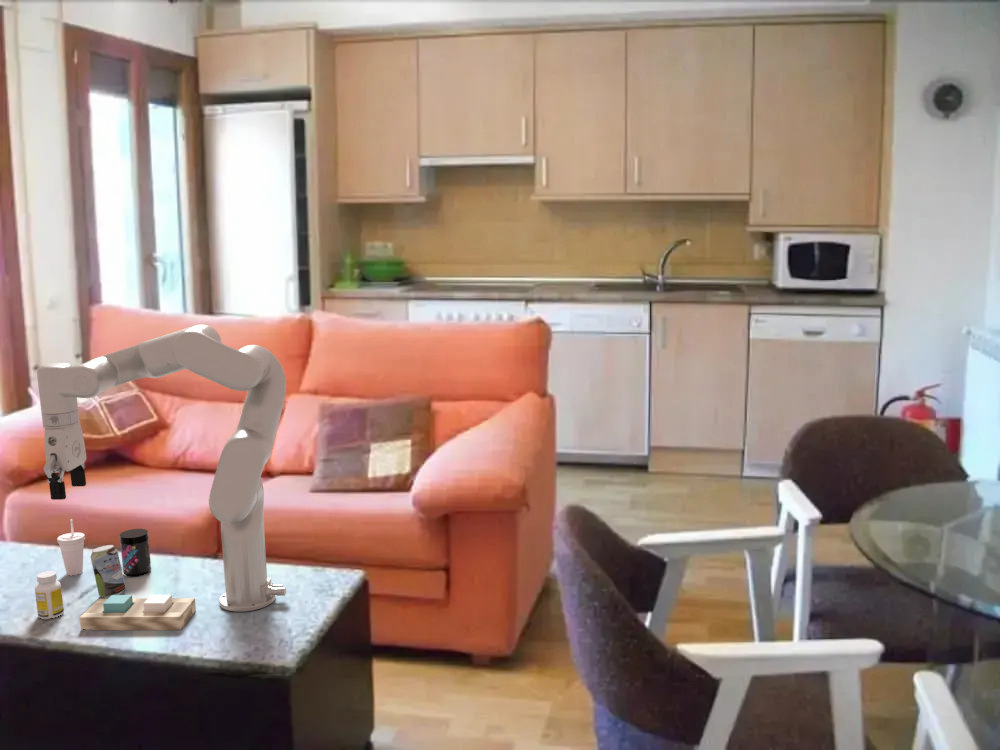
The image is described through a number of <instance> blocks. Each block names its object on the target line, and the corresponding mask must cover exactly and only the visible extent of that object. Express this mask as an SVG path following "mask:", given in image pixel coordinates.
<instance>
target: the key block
mask: <svg viewBox="0 0 1000 750" xmlns="http://www.w3.org/2000/svg"><path fill="white" fill-rule="evenodd" d="M148 598H149V597H146V598H145V597H144V598H143V597H141V598H135V597H134V598H133V597H132V600H133V605H132V607H131V608H130V609H129V610H128V611H127V612H126V613H104V607H103V603H104V602H105V601H106V600H107V599H108V598H98V599H97V600H96V601H95V602H94V603H93V604H92V605H91V606H90V607H89V608H88V609H87V610H86V611H85V612H84V613H83V614H81V615H80V617H79V623H80V630H81V631H84V630H83V629H92V630H91V631H150V630H151V631H171V630H172V631H174V630H175V631H177V630H178V631H181V630H182V628H184V627H185V625H186V624H187V622H188V621H189V620H190V619H191V617H192V616H193V615H194V614H195V612H196V611H197V608H196V598H195V597H183V598H182V597H179V598H177V597H176V598H173V597H172V606H171V607H170V608H169V610H168V611H167V612H163V613H144V602H145V601H146V600H147V599H148Z"/></svg>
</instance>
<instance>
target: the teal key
mask: <svg viewBox="0 0 1000 750" xmlns="http://www.w3.org/2000/svg"><path fill="white" fill-rule="evenodd" d="M132 598H133V595H132V594H119V595H111V596H110V597H109V598H106V599H107V600H106V601H105V602H104V603H103V607H104V613H126V612H127V611H128V610H129V609H130V608H131V607H132V605H133V600H132Z"/></svg>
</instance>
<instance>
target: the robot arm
mask: <svg viewBox="0 0 1000 750" xmlns="http://www.w3.org/2000/svg"><path fill="white" fill-rule="evenodd" d="M184 370H188V371H190V372H191V373H194V374H195V375H198V376H200V377H203V378H205V379H207V380H209V381H211V382H213V383H217V384H218V385H221V386H223V387H225V388H228V389H231V390H233V391H236V392H238V391H239V392H247V394H246V397H245V400H244V402H243V405H242V410H241V413H240V414H241V415H240V418H239V421H238V424H237V427H236V429H235V432H234V433H233V434H232V436H231V437H230V438H229V439H228V440H227V441H226V443H225V444H224V446H223V447H222V451H221V452H220V456H219V459H218V462H217V465H216V466H217V467H216V470H215V473H214V477H213V481H212V484H211V489H210V492H209V496H208V505H209V506H208V507H209V510H210V512H211V514H212V515H213V517H214V518H215V519H216V520H218V521H219V522H220V531H221V534H220V535H221V545H222V549H221V550H222V558H223V560H222V561H223V572H224V573H223V575H224V587H225V589H224V590H225V593H223V594H222V595H221V596H220V597H219V599H218V600H219V601H218V602H219V606H220V607H221V608H222V609H223V610H226V611H229V612H237V613H239V612H251V611H256V610H259V609H263V608H266V607H268V606H269V605H271V604H272V603H273V602H274V601H275V599H276V596H282V597H283V596H284V597H285V596H286V594H287V588H286V586H285V587H284V583H283V584H282V583H279V584H278V583H277V584H274V583H272V578H271V577H268V570H267V555H266V553H267V552H266V540H265V519H264V518H265V517H264V510H265V508H264V507H265V505H264V503H265V490H264V489H265V488H264V484H263V482H262V481H263V480H262V479H261V477H262V474H263V470H264V468H265V465H266V464H267V463H268V461H269V460H270V458H271V457H272V452H273V449H274V448H273V447H274V444H275V439H276V435H277V432H278V428H279V423H280V420H281V415H282V412H283V408H284V404H285V399H286V393H287V392H286V391H287V381H286V374H285V371H284V368H283V365H282V363H281V362H280V360H279V359H278V358H277V356H276V355H274V353H272V351H270V350H269V349H267V348H266V347H264V346H261V345H257V344H250V345H245V346H243V347H241V348H239V349H236V348H233V347H231V346H229V345H227V344H224V343H222V338H221V336H220V334H219V332H218V331H217V329H215V328H214V327H213V326H210V325H206V324H195V325H193V326H190V327H186V328H183V329H180V330H176V331H173V332H170V333H168V334H164V335H162V336H158V337H155V338H152V339H148V340H145V341H142V342H140V343H138V344H136V345H133V346H129V347H127V348H124V349H123V348H122V349H120V350H117V351H114V352H111V353H108V354H104V355H102V356H98V357H96V358H92V359H90V360H88V361H85V362H83V363H80V364H78V365H74V366H73V365H71V364H70V363H67V362H53V363H45V364H43V365H41V366H39V367H38V368H37V371H36V377H37V385H38V393H39V394H38V395H39V402H40V412H41V419H42V420H41V421H42V427H43V428H44V453H45V454H44V455H45V462H46V463H45V464H44V466H43V471H44V473H45V477H46V479H47V483H48V485H49V493H50V499H51V500H53V501H55V500H66V499H67V492H66V484H65V481H63V479H64V475H65V472H70V473H69V475H70V482H71V486H72V487H86V486H87V481H86V480H87V478H86V470H85V468H86V464H85V462H86V461H87V452H86V445H85V439H84V432H83V428H82V425H81V422H80V414H79V406H78V405H79V404H78V398H79V399H90V398H91V399H92V398H95V397H96V396H98V395H100V394H102V393H104V392H105V391H108V390H109V389H111V388H113V387H116V386H120V385H123V384H126V383H130V382H133V381H135V380H140V379H143V378H151V379H158V378H159V379H160V378H163V377H165V376H167V375H171V374H175V373H177V372H180V371H184Z"/></svg>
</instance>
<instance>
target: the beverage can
mask: <svg viewBox="0 0 1000 750" xmlns="http://www.w3.org/2000/svg"><path fill="white" fill-rule="evenodd" d="M90 561H91V566H92V570H93V574H94V579H95V583H96V588H97V593H98V596H100V597H102V598H103V599H108V598H109V597H110V596H111V595H122V594H123V592H124V591H125V590H126V583H125V579H124V573H123V568H122V564H121V560H120V556H119V551H118V549H117V548H116V547H115V546H114V545H113V544H106V545H101V546H98V547H95V548H93V549H92V550H91V555H90Z"/></svg>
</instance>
